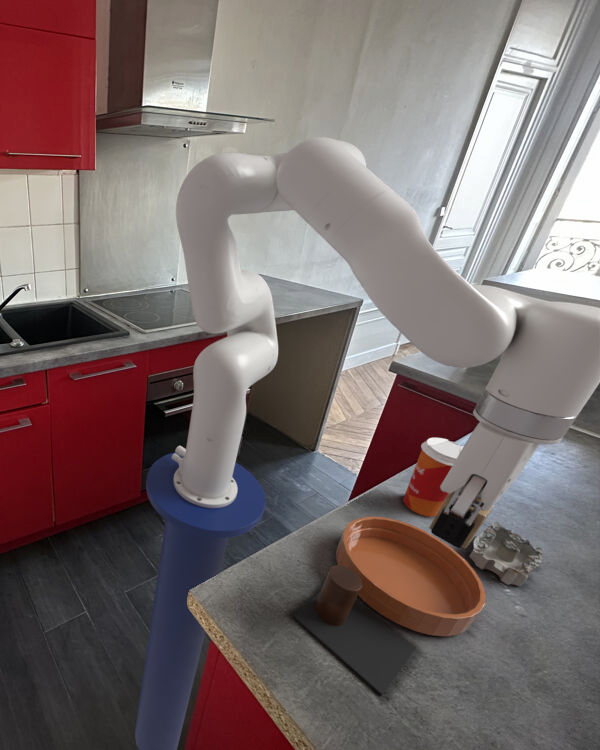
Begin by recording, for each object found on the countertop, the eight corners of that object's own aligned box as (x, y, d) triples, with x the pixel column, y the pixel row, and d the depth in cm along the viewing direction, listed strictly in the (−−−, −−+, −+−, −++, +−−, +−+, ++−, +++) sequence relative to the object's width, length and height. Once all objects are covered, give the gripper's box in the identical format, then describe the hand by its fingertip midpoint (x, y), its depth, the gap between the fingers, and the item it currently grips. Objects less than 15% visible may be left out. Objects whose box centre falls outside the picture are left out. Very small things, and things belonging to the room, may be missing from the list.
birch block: (428, 528, 55) (446, 497, 52) (439, 515, 57) (456, 485, 54) (465, 549, 52) (485, 517, 49) (475, 535, 54) (495, 503, 51)
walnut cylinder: (309, 608, 60) (323, 573, 57) (324, 594, 62) (338, 560, 59) (336, 631, 57) (353, 596, 54) (350, 616, 59) (367, 581, 56)
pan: (313, 566, 67) (321, 546, 65) (366, 520, 77) (374, 502, 75) (444, 665, 54) (459, 645, 52) (489, 595, 64) (502, 575, 62)
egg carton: (517, 593, 64) (530, 575, 62) (460, 557, 70) (470, 540, 68) (541, 564, 69) (553, 547, 67) (486, 533, 75) (496, 516, 73)
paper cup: (405, 487, 85) (432, 431, 79) (450, 509, 80) (482, 451, 74) (390, 502, 81) (416, 444, 75) (435, 527, 76) (468, 467, 70)
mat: (292, 617, 59) (293, 615, 59) (329, 583, 65) (329, 581, 64) (381, 696, 51) (382, 694, 50) (415, 649, 56) (416, 647, 56)
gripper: (499, 382, 53) (441, 490, 61) (455, 420, 44) (393, 540, 52) (582, 408, 48) (506, 522, 56) (550, 457, 39) (465, 585, 47)
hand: (452, 530), depth 54 cm, fingers closed on birch block, 4 cm apart
